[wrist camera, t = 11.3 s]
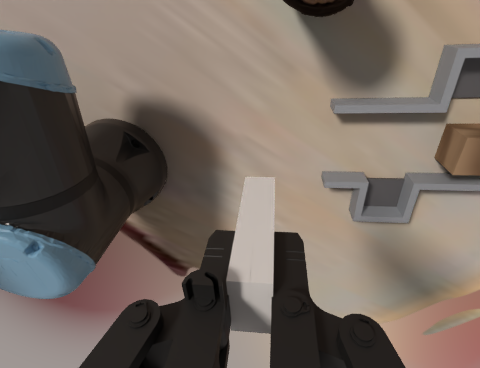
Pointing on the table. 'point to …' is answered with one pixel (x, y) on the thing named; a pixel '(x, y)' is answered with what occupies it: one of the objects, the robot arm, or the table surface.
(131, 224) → the table surface
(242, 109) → the table surface
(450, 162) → the walnut block
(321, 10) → the coffee cup
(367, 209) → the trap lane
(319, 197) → the table surface
